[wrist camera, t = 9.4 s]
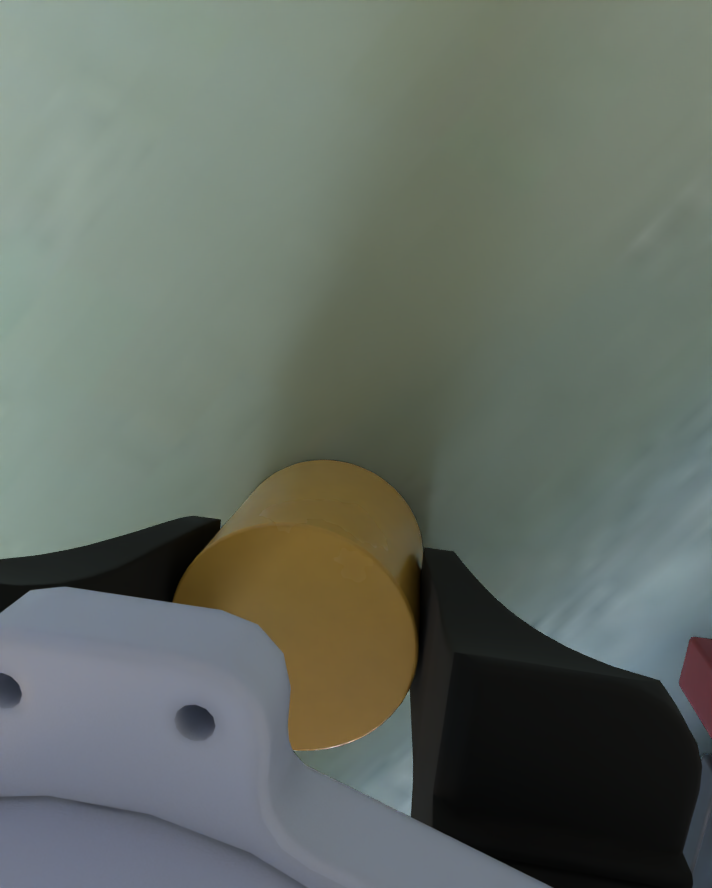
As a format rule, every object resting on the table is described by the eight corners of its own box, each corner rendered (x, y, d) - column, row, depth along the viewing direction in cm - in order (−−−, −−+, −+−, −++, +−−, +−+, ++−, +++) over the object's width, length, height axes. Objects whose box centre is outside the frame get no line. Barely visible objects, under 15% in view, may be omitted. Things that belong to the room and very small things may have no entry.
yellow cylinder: (231, 621, 16) (165, 730, 12) (240, 447, 15) (170, 506, 11) (411, 648, 15) (403, 770, 11) (434, 472, 14) (434, 542, 10)
